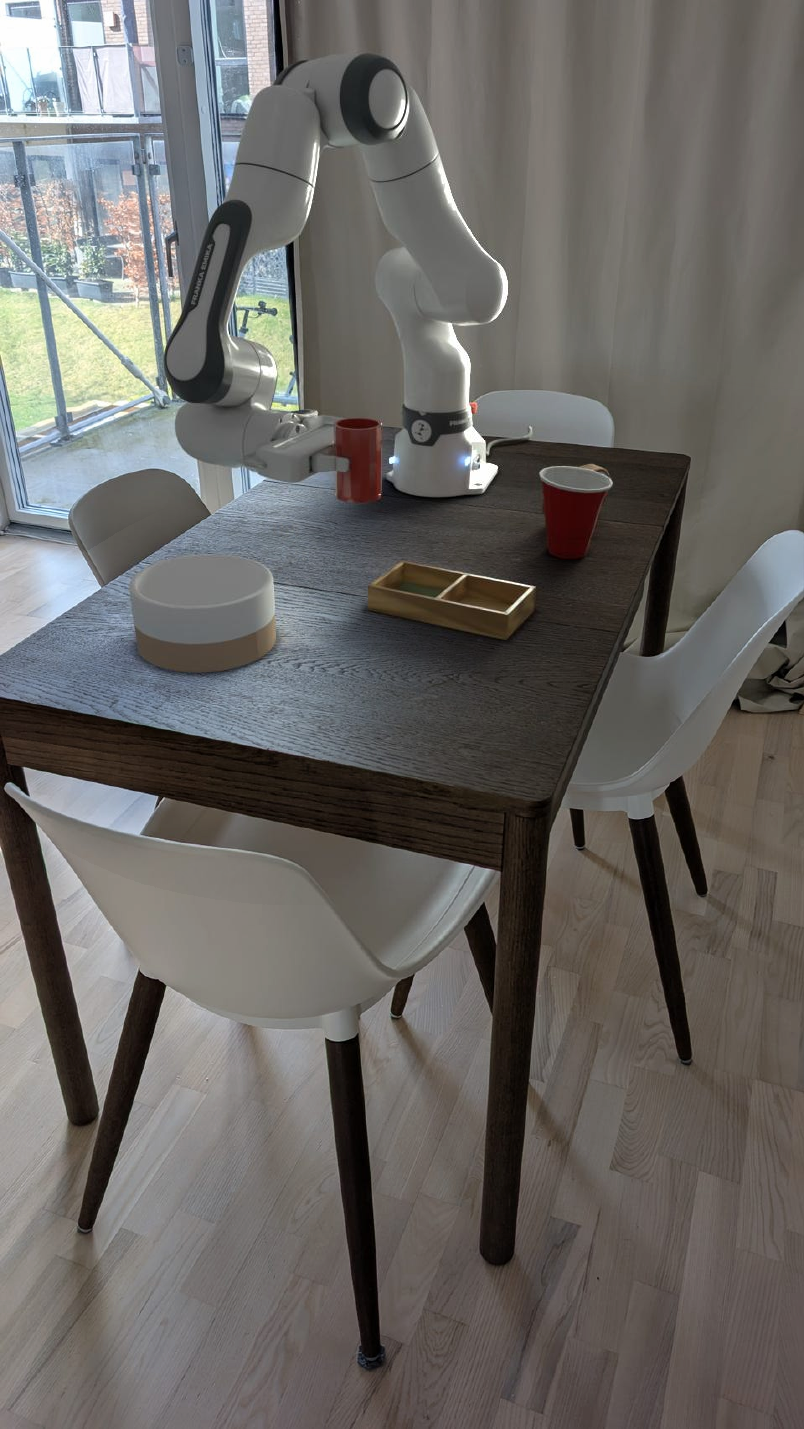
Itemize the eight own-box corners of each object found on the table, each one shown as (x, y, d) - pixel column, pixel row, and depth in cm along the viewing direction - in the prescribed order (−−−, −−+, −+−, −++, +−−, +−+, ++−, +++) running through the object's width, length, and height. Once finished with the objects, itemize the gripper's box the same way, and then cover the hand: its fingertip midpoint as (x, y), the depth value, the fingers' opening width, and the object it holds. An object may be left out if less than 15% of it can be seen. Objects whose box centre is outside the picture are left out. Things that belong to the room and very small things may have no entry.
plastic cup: (603, 568, 152) (612, 488, 146) (529, 562, 153) (536, 483, 147) (606, 543, 161) (614, 467, 155) (536, 537, 163) (542, 462, 157)
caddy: (402, 583, 146) (402, 560, 144) (534, 610, 138) (536, 586, 137) (367, 610, 138) (367, 585, 136) (505, 640, 130) (507, 614, 129)
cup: (349, 486, 148) (348, 415, 143) (389, 493, 145) (389, 421, 140) (326, 498, 143) (325, 425, 138) (367, 506, 140) (367, 432, 135)
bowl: (155, 611, 137) (148, 551, 133) (284, 614, 136) (281, 554, 132) (120, 671, 122) (111, 606, 118) (265, 675, 121) (261, 610, 117)
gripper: (234, 439, 136) (324, 453, 131) (314, 406, 152) (397, 417, 147) (237, 485, 140) (325, 501, 134) (315, 448, 155) (397, 461, 150)
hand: (363, 457), depth 141 cm, fingers closed on cup, 6 cm apart
